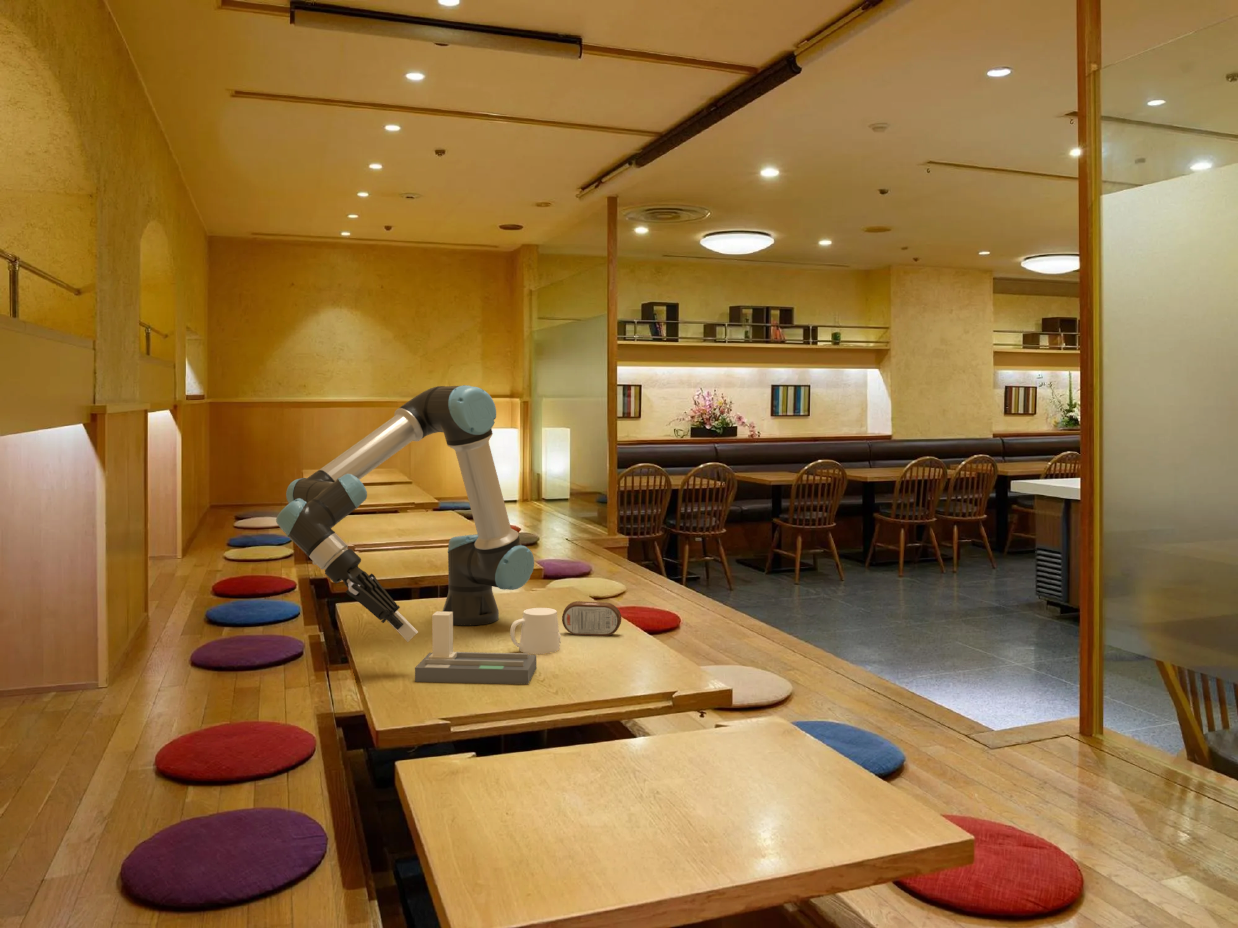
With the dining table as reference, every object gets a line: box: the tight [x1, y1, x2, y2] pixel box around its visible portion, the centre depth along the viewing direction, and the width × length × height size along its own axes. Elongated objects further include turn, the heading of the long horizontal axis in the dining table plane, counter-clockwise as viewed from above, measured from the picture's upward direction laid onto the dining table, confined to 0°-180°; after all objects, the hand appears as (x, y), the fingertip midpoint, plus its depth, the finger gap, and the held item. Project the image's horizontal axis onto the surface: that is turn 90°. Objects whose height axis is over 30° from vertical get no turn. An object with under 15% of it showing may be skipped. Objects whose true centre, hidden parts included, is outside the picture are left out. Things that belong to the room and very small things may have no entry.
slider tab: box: [429, 610, 458, 659], centre depth 205 cm, size 4×5×10 cm
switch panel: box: [414, 651, 537, 685], centre depth 205 cm, size 12×24×4 cm, turn 87°
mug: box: [509, 607, 562, 655], centre depth 225 cm, size 12×9×8 cm
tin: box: [561, 600, 622, 637], centre depth 241 cm, size 15×3×8 cm, turn 84°
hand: (413, 636), depth 206 cm, fingers closed
